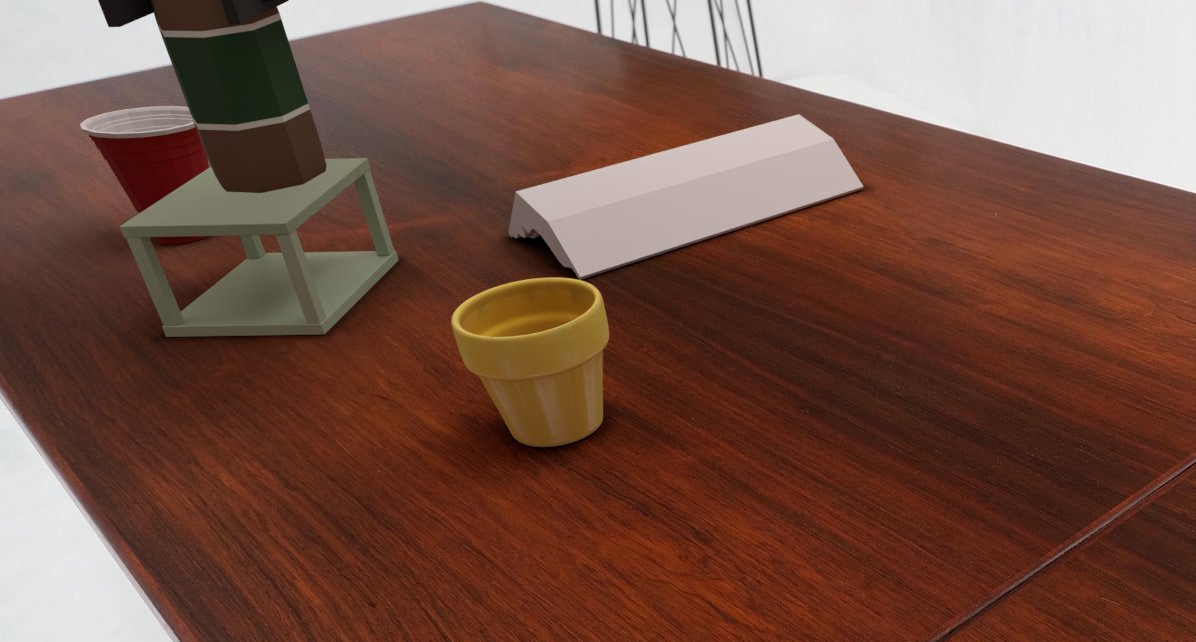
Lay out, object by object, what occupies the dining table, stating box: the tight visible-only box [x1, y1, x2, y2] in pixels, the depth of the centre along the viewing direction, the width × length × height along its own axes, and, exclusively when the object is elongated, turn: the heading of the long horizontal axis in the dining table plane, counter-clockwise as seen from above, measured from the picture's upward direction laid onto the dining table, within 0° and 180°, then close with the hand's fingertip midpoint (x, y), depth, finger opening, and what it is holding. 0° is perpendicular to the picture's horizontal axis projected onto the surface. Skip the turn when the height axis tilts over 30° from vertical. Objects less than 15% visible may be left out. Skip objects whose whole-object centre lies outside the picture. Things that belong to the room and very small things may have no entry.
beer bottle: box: [150, 0, 327, 193], centre depth 86 cm, size 8×8×24 cm
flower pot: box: [450, 277, 610, 448], centre depth 93 cm, size 10×10×10 cm
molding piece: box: [507, 113, 865, 281], centre depth 131 cm, size 32×12×10 cm
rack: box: [119, 157, 400, 338], centre depth 114 cm, size 14×16×10 cm
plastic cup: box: [79, 105, 210, 245], centre depth 127 cm, size 11×11×12 cm
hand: (166, 3), depth 82 cm, fingers closed on beer bottle, 7 cm apart
